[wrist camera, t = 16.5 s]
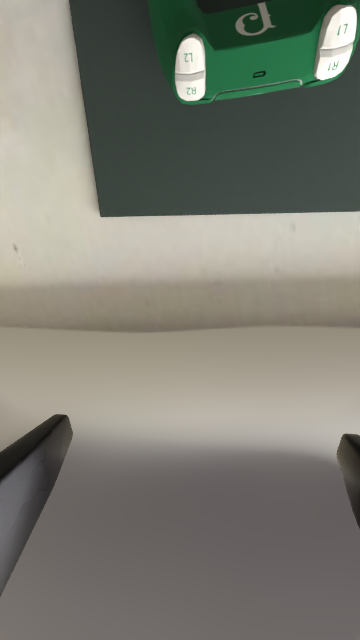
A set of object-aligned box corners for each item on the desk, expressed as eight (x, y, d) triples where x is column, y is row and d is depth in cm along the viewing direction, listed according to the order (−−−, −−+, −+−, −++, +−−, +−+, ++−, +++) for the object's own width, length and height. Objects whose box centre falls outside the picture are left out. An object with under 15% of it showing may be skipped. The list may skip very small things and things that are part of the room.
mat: (544, -306, 9) (558, -327, 8) (392, 210, 16) (396, 210, 15) (43, -199, 11) (37, -212, 10) (102, 216, 18) (100, 217, 17)
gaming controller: (161, 53, 15) (158, 128, 13) (143, -59, 11) (134, 20, 9) (337, 20, 14) (363, 98, 12) (378, -119, 10) (426, -41, 8)
